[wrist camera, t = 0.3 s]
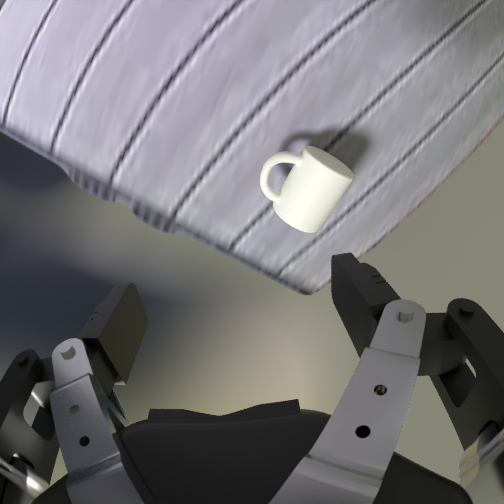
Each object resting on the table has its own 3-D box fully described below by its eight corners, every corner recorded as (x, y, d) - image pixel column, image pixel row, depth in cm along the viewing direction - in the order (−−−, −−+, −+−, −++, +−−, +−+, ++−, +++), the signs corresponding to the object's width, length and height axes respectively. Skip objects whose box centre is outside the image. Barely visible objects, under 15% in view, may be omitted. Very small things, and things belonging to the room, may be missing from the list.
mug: (342, 159, 40) (363, 185, 34) (311, 208, 46) (325, 239, 40) (273, 127, 36) (285, 148, 30) (244, 185, 42) (249, 215, 36)
